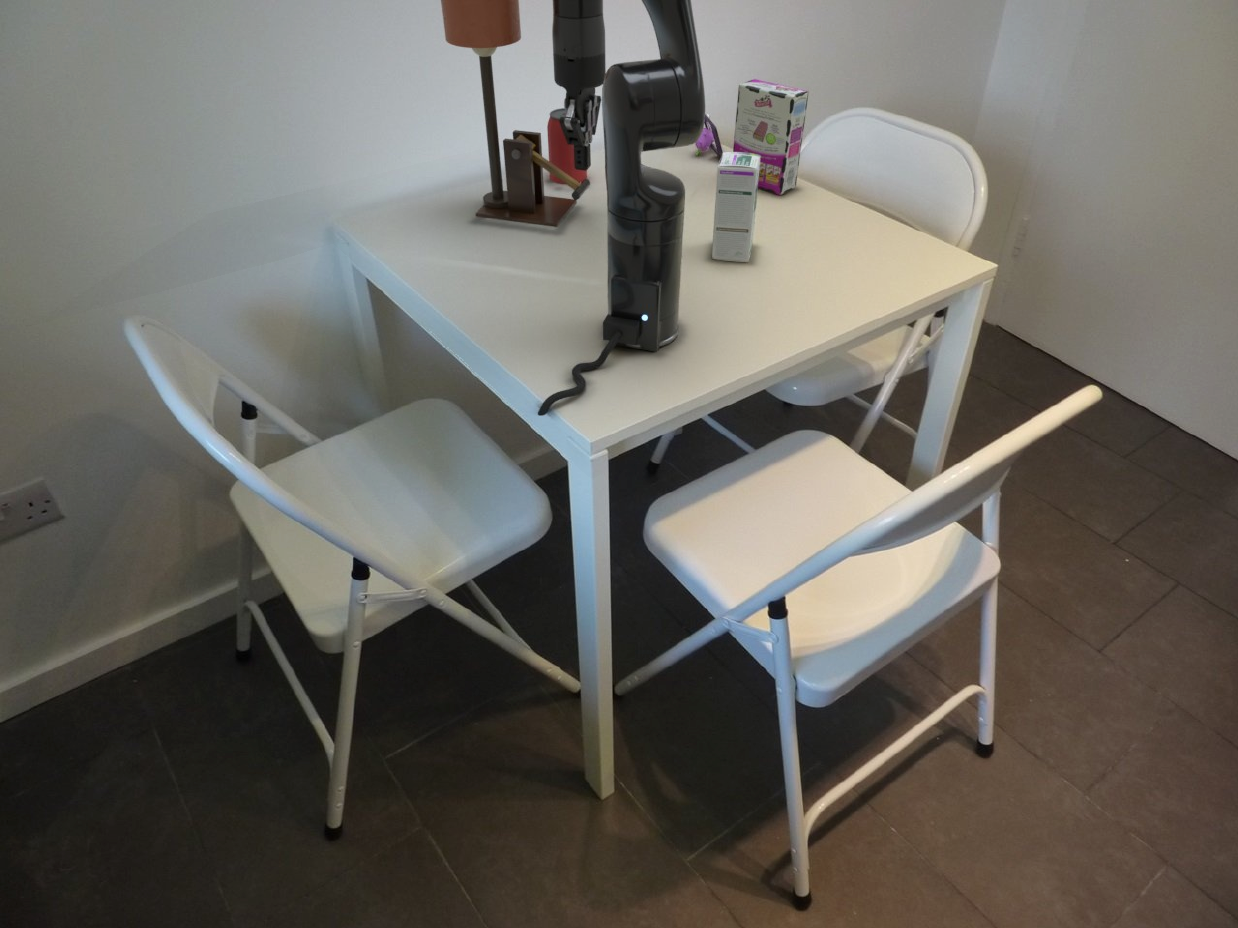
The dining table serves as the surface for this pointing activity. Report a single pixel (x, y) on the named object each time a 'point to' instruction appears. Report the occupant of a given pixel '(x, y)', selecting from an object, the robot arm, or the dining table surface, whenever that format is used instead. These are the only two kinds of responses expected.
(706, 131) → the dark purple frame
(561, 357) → the dining table surface
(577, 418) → the dining table surface
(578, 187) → the switch
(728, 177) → the syrup box
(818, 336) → the dining table surface
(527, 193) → the lamp base
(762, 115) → the candy bar box
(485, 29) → the lamp
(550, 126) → the beer can
